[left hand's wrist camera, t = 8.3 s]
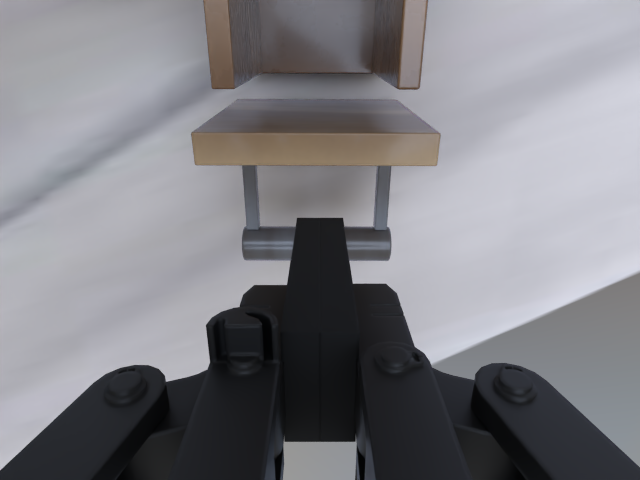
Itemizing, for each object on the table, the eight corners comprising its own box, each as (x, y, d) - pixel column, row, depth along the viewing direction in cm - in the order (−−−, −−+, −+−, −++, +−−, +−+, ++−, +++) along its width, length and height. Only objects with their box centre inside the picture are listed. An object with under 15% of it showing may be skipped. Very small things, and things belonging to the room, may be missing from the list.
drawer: (388, 221, 27) (420, 306, 18) (246, 220, 27) (211, 305, 18) (428, -310, 17) (534, -654, 9) (207, -310, 17) (95, -656, 9)
